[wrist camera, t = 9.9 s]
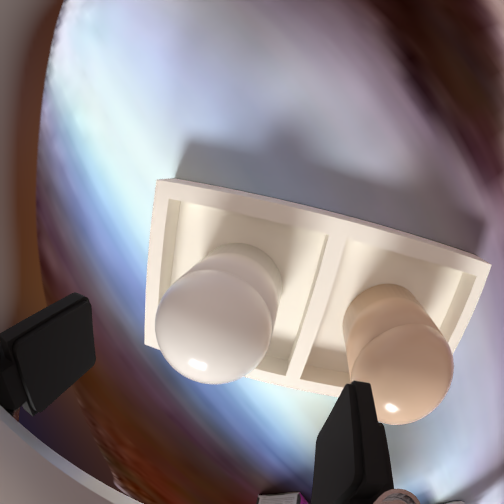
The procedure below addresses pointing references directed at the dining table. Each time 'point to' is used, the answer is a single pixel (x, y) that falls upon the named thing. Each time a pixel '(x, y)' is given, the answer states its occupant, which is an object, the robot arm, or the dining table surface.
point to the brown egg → (397, 353)
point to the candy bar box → (282, 498)
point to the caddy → (307, 272)
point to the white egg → (220, 314)
